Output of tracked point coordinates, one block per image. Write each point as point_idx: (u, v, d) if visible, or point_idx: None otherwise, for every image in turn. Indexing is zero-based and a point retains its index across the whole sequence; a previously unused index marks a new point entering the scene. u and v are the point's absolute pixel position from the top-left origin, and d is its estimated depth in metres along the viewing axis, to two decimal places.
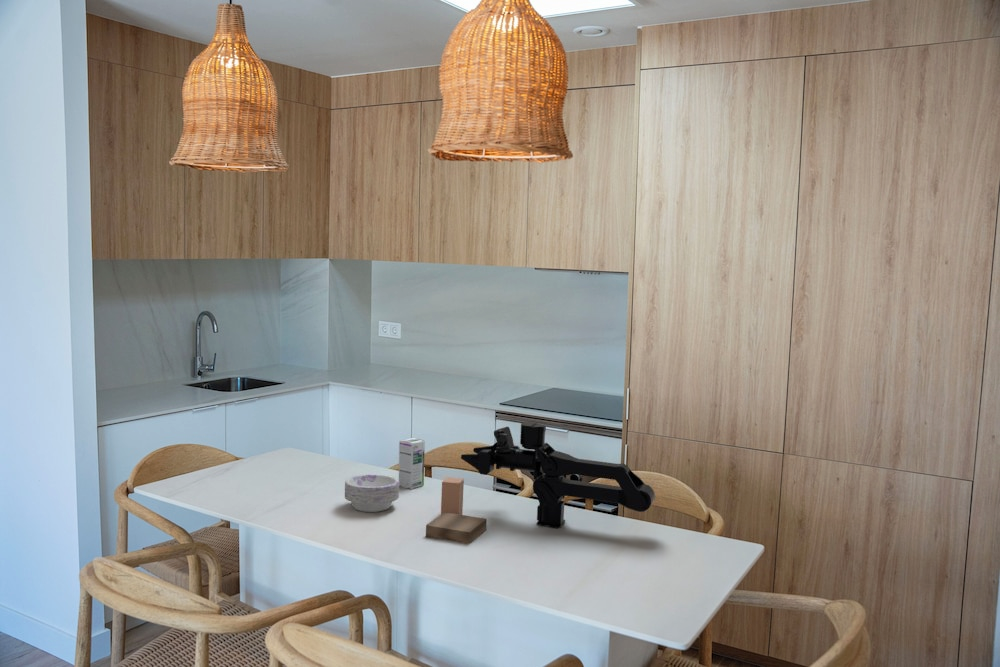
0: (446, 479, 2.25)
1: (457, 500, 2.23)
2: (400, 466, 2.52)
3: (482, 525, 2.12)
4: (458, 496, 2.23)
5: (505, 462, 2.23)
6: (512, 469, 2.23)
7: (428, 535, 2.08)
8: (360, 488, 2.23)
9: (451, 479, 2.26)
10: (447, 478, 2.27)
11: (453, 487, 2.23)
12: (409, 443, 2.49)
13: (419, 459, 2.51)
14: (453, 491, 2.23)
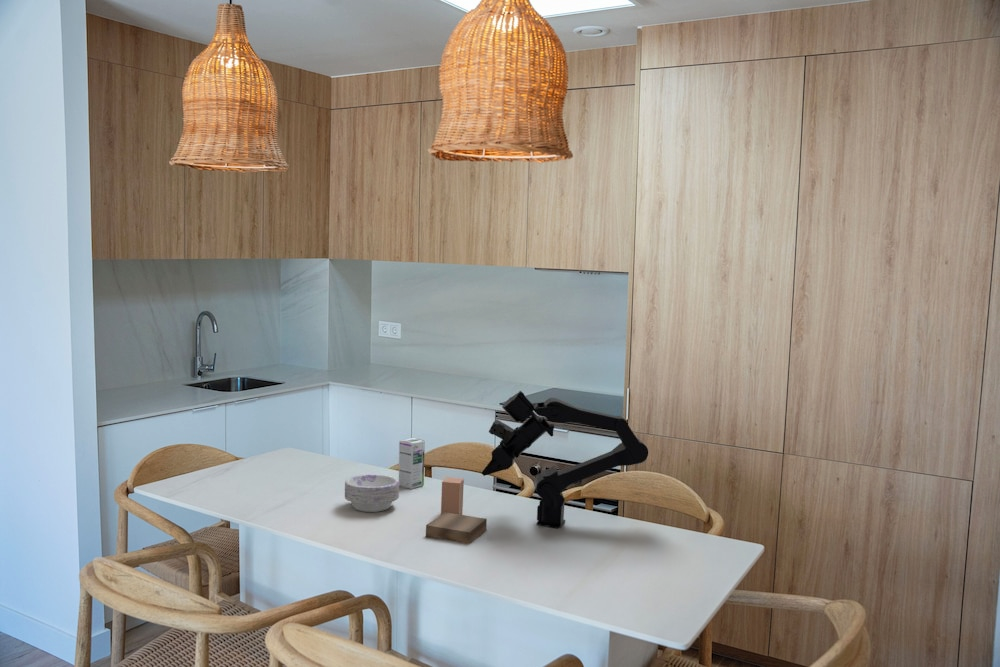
0: (446, 479, 2.25)
1: (457, 500, 2.23)
2: (400, 466, 2.52)
3: (482, 525, 2.12)
4: (458, 496, 2.23)
5: (519, 445, 2.18)
6: (528, 445, 2.18)
7: (428, 535, 2.08)
8: (360, 488, 2.23)
9: (451, 479, 2.26)
10: (447, 478, 2.27)
11: (453, 487, 2.23)
12: (409, 443, 2.49)
13: (419, 459, 2.51)
14: (453, 491, 2.23)
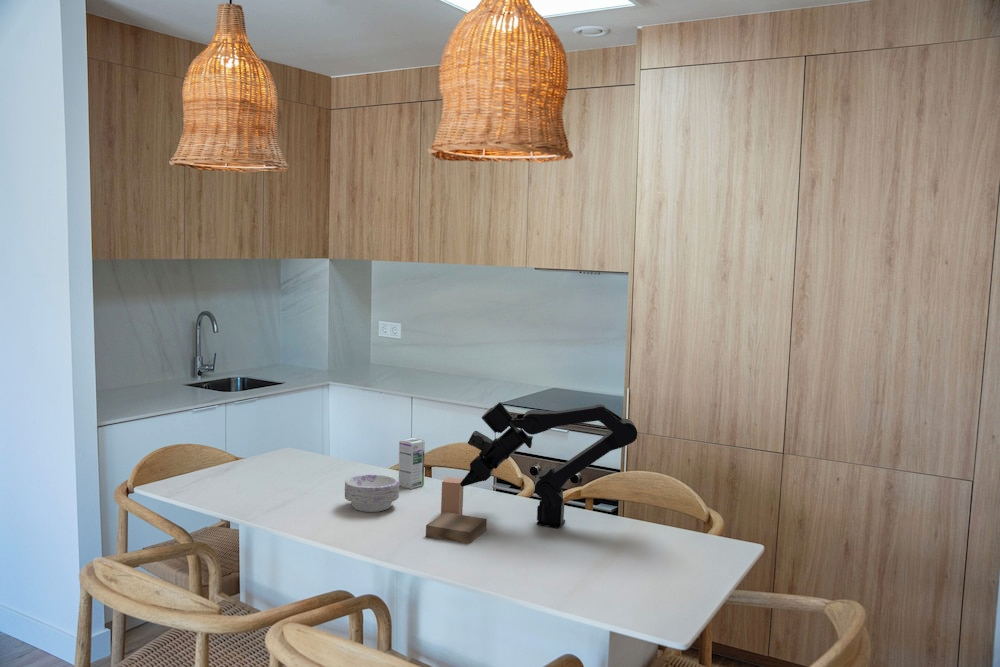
0: (446, 479, 2.25)
1: (457, 500, 2.23)
2: (400, 466, 2.52)
3: (482, 525, 2.12)
4: (458, 496, 2.23)
5: (497, 456, 2.20)
6: (507, 456, 2.20)
7: (428, 535, 2.08)
8: (360, 488, 2.23)
9: (451, 479, 2.26)
10: (447, 478, 2.27)
11: (453, 487, 2.23)
12: (409, 443, 2.49)
13: (419, 459, 2.51)
14: (453, 491, 2.23)
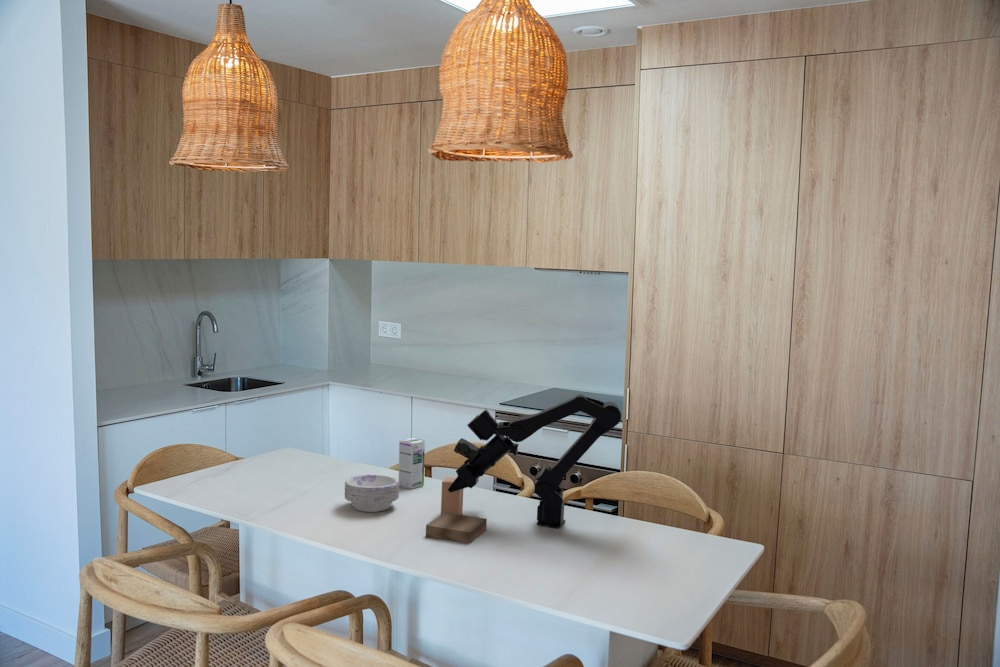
0: (446, 479, 2.25)
1: (457, 500, 2.23)
2: (400, 466, 2.52)
3: (482, 525, 2.12)
4: (458, 496, 2.23)
5: (483, 464, 2.21)
6: (493, 464, 2.21)
7: (428, 535, 2.08)
8: (360, 488, 2.23)
9: (451, 479, 2.26)
10: (447, 478, 2.27)
11: None
12: (409, 443, 2.49)
13: (419, 459, 2.51)
14: None
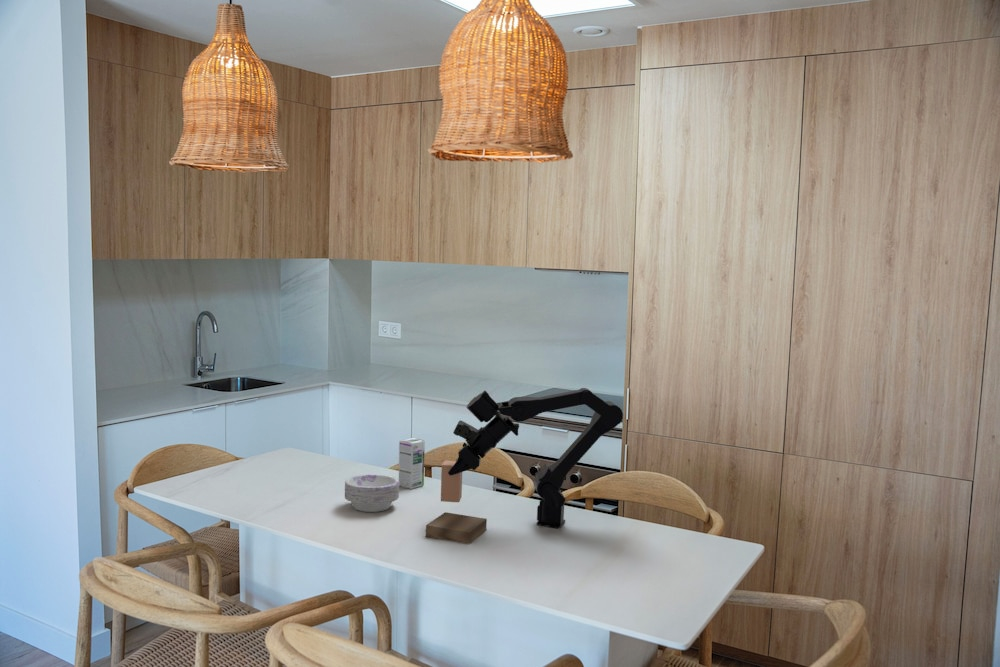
0: (445, 463, 2.21)
1: (457, 483, 2.19)
2: (400, 466, 2.52)
3: (482, 525, 2.12)
4: (458, 479, 2.19)
5: (484, 445, 2.17)
6: (494, 445, 2.17)
7: (428, 535, 2.08)
8: (360, 488, 2.23)
9: (450, 462, 2.21)
10: (446, 461, 2.22)
11: None
12: (409, 443, 2.49)
13: (419, 459, 2.51)
14: None
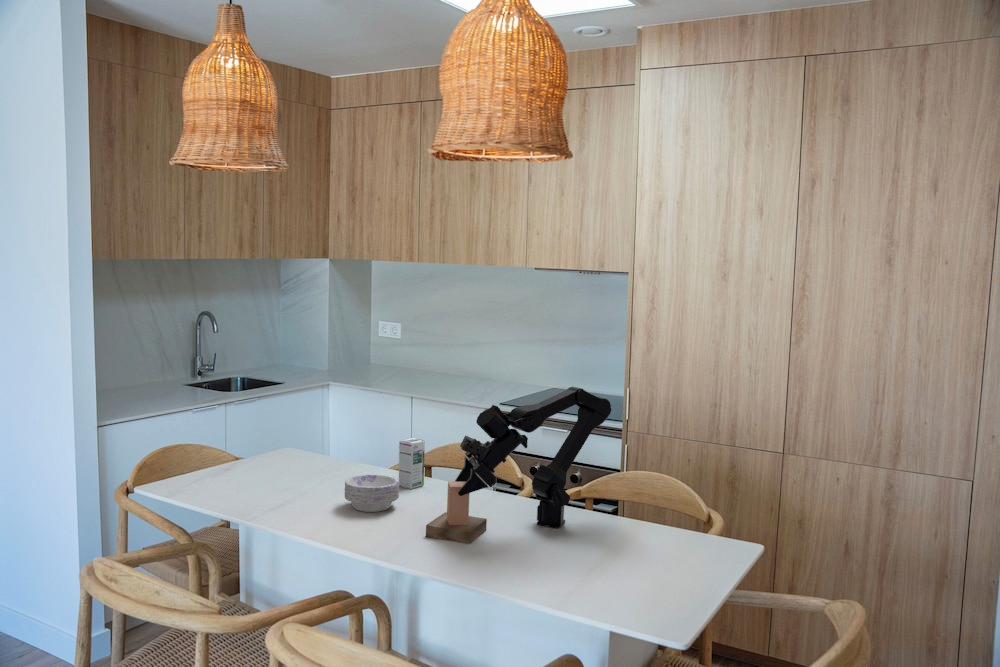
0: (452, 484, 2.10)
1: (467, 505, 2.09)
2: (400, 466, 2.52)
3: (482, 525, 2.12)
4: (468, 500, 2.09)
5: (495, 461, 2.09)
6: (504, 460, 2.10)
7: (428, 535, 2.08)
8: (360, 488, 2.23)
9: (456, 483, 2.11)
10: (450, 482, 2.12)
11: None
12: (409, 443, 2.49)
13: (419, 459, 2.51)
14: None
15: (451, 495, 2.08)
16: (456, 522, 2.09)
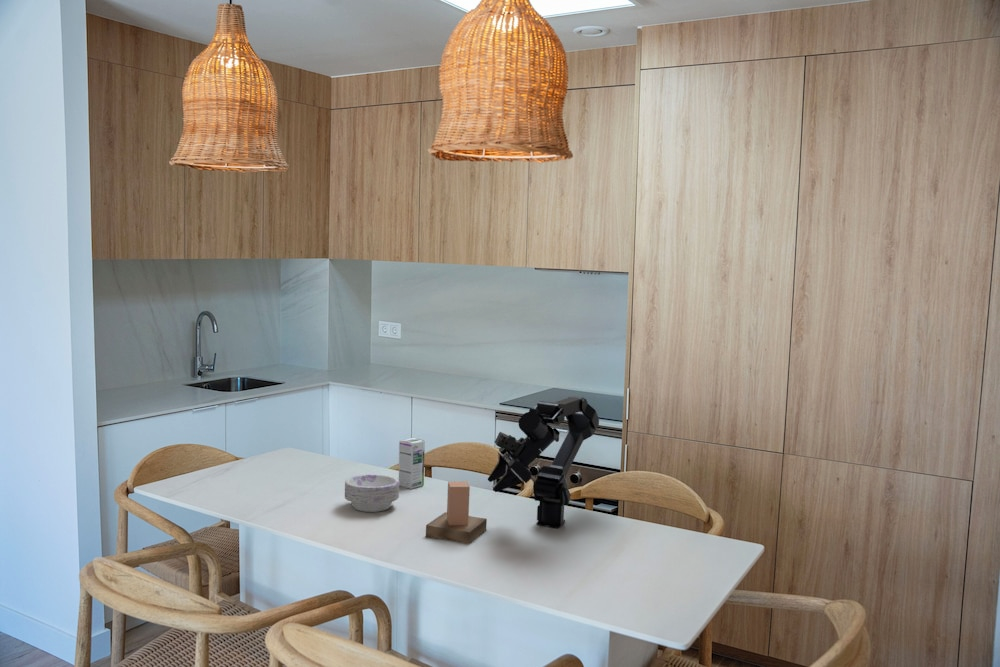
0: (452, 484, 2.10)
1: (467, 505, 2.09)
2: (400, 466, 2.52)
3: (482, 525, 2.12)
4: (468, 500, 2.09)
5: (529, 457, 2.10)
6: (539, 456, 2.11)
7: (428, 535, 2.08)
8: (360, 488, 2.23)
9: (456, 483, 2.11)
10: (450, 482, 2.12)
11: (462, 492, 2.08)
12: (409, 443, 2.49)
13: (419, 459, 2.51)
14: (462, 495, 2.09)
15: (451, 495, 2.08)
16: (456, 522, 2.09)
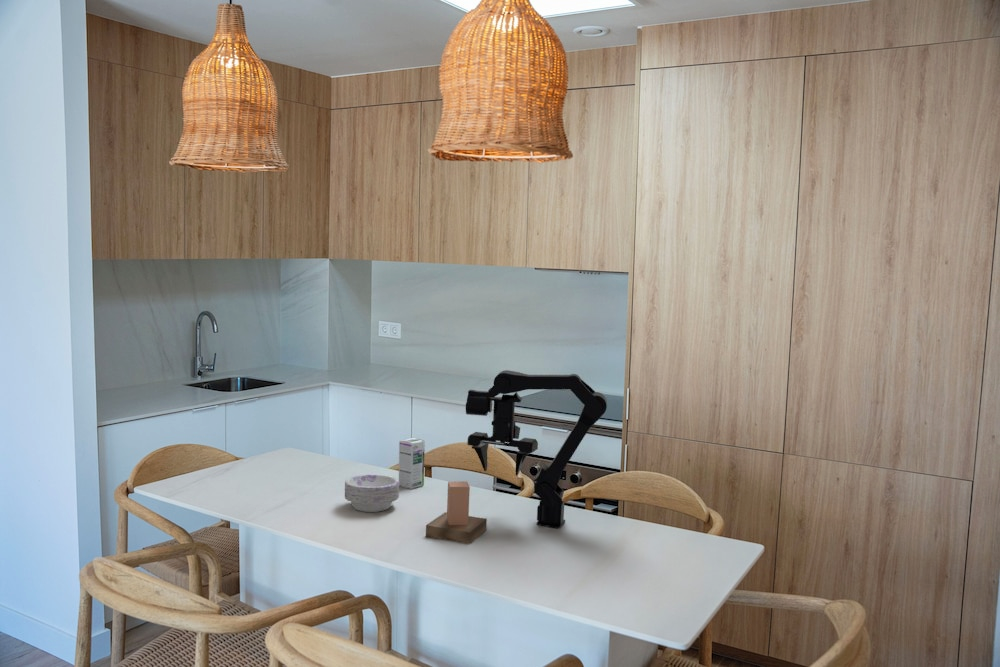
0: (452, 484, 2.10)
1: (467, 505, 2.09)
2: (400, 466, 2.52)
3: (482, 525, 2.12)
4: (468, 500, 2.09)
5: None
6: None
7: (428, 535, 2.08)
8: (360, 488, 2.23)
9: (456, 483, 2.11)
10: (450, 482, 2.12)
11: (462, 492, 2.08)
12: (409, 443, 2.49)
13: (419, 459, 2.51)
14: (462, 495, 2.09)
15: (451, 495, 2.08)
16: (456, 522, 2.09)
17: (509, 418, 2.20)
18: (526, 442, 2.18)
